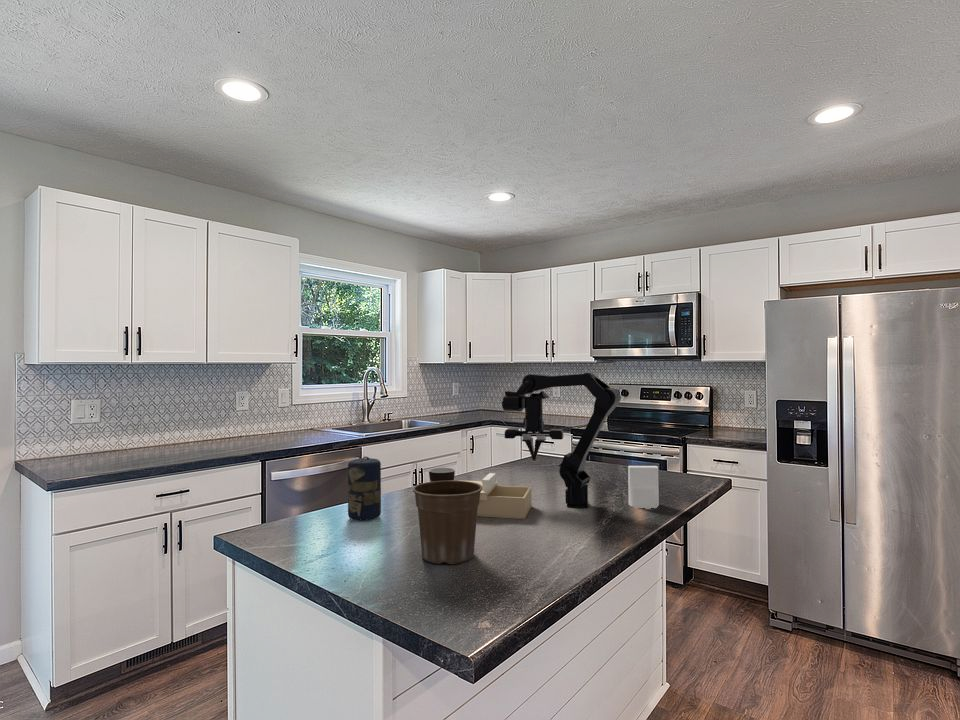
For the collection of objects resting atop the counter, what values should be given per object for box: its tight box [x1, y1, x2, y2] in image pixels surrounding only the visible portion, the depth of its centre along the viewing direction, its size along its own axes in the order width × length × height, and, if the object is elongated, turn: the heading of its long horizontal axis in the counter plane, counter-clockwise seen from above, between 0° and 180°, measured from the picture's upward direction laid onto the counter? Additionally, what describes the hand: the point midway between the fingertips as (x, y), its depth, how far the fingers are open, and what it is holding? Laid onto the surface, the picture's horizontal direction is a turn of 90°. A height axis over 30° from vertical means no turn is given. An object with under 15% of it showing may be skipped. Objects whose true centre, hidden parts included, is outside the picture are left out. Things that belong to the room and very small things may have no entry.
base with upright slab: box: [627, 465, 660, 510], centre depth 170 cm, size 9×9×12 cm
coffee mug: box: [428, 467, 456, 482], centre depth 180 cm, size 12×9×10 cm
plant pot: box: [412, 479, 483, 565], centre depth 127 cm, size 16×16×16 cm
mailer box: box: [477, 485, 533, 520], centre depth 165 cm, size 16×14×6 cm
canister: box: [347, 456, 382, 522], centre depth 159 cm, size 10×10×18 cm
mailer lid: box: [455, 472, 499, 500], centre depth 168 cm, size 16×16×5 cm
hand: (534, 460), depth 178 cm, fingers closed
